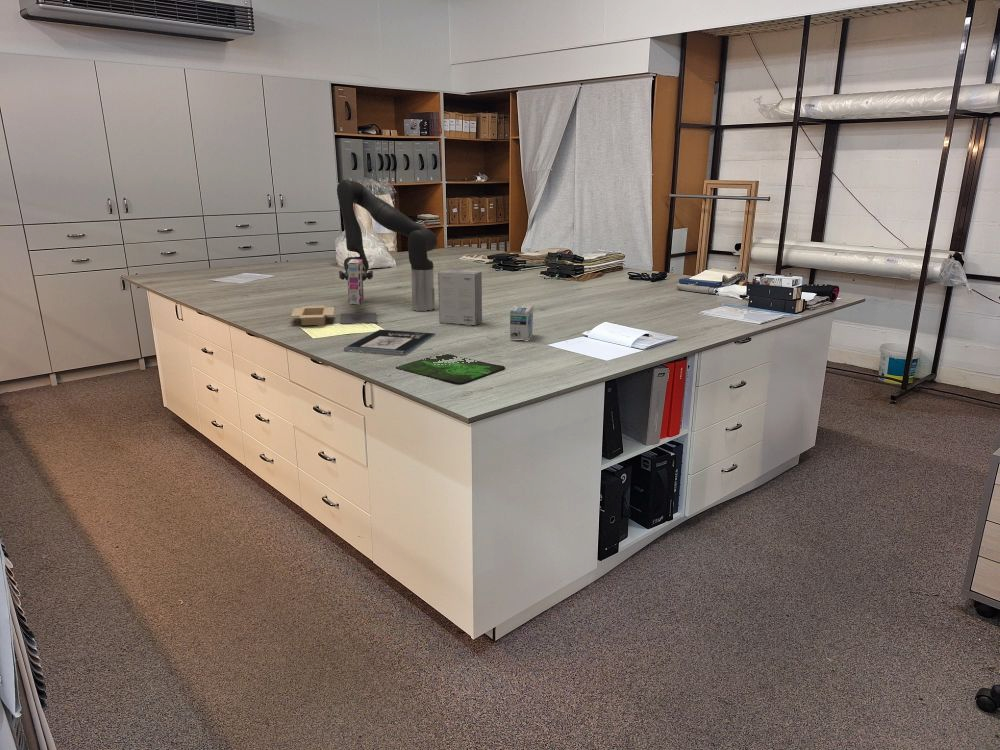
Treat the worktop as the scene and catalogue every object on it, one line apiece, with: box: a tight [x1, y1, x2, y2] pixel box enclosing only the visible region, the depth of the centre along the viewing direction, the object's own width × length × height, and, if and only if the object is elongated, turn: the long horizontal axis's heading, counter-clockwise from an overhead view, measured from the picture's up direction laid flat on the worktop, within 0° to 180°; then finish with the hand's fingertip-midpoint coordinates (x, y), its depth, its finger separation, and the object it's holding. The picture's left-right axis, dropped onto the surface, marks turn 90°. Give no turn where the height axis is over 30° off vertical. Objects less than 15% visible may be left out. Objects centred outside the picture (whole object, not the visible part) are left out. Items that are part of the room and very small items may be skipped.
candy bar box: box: [347, 259, 365, 306], centre depth 264 cm, size 11×5×16 cm, turn 5°
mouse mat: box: [395, 353, 506, 385], centre depth 204 cm, size 27×22×1 cm
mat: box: [339, 312, 378, 325], centre depth 268 cm, size 14×18×1 cm
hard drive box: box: [437, 269, 483, 326], centre depth 260 cm, size 16×8×20 cm, turn 71°
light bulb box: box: [509, 304, 534, 341], centre depth 240 cm, size 11×7×11 cm, turn 169°
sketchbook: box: [343, 329, 436, 357], centre depth 232 cm, size 22×30×2 cm
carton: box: [290, 305, 335, 326], centre depth 262 cm, size 16×22×4 cm
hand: (356, 278), depth 263 cm, fingers closed on candy bar box, 5 cm apart
